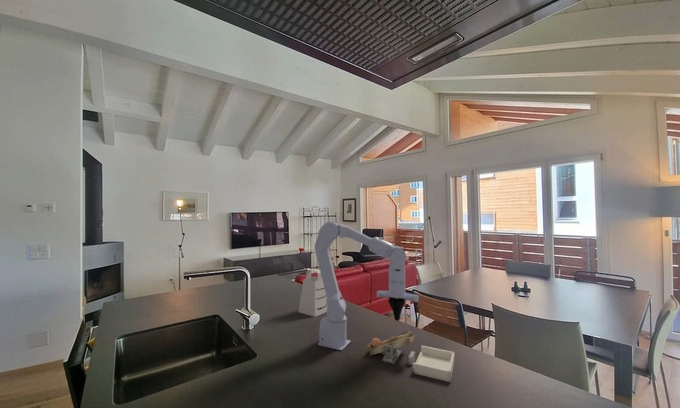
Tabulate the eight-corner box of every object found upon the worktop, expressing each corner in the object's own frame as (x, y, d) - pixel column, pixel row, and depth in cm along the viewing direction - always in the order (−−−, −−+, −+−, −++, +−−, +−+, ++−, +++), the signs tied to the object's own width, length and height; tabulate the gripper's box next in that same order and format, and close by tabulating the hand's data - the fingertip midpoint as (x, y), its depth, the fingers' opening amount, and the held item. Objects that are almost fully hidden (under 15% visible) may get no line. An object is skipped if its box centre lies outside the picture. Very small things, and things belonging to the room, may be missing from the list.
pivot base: (382, 361, 92) (382, 345, 92) (389, 350, 99) (389, 335, 100) (410, 368, 88) (410, 351, 88) (416, 356, 95) (416, 340, 95)
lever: (370, 355, 95) (367, 346, 96) (380, 342, 105) (377, 334, 106) (411, 343, 90) (407, 334, 90) (418, 330, 99) (414, 322, 100)
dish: (413, 373, 85) (413, 363, 85) (421, 353, 97) (421, 345, 97) (450, 382, 80) (450, 372, 80) (454, 360, 92) (454, 352, 92)
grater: (312, 306, 147) (313, 267, 148) (329, 310, 141) (329, 269, 141) (298, 312, 138) (299, 270, 139) (315, 316, 132) (315, 272, 133)
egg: (371, 349, 96) (369, 340, 97) (374, 346, 99) (372, 336, 99) (380, 350, 95) (378, 340, 95) (382, 346, 98) (381, 336, 98)
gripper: (419, 280, 103) (420, 319, 102) (380, 276, 109) (381, 313, 108) (416, 284, 96) (416, 326, 96) (374, 280, 103) (375, 319, 102)
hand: (397, 319), depth 102 cm, fingers closed
